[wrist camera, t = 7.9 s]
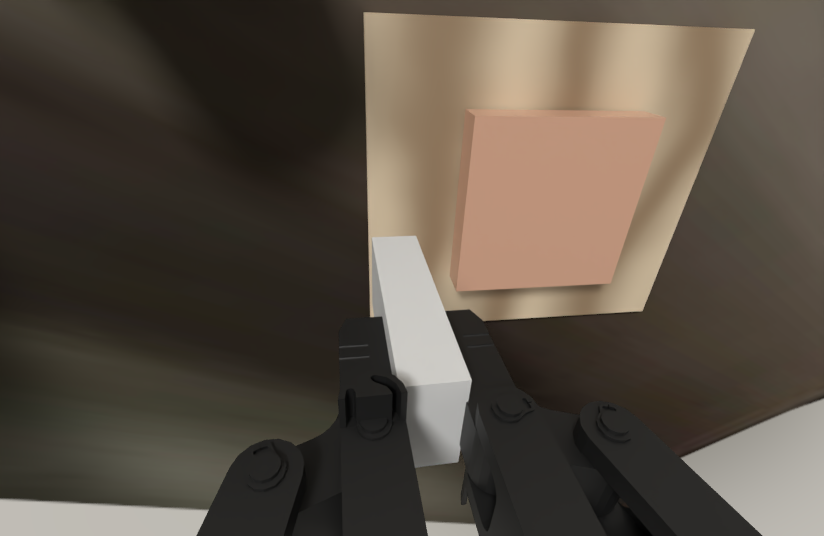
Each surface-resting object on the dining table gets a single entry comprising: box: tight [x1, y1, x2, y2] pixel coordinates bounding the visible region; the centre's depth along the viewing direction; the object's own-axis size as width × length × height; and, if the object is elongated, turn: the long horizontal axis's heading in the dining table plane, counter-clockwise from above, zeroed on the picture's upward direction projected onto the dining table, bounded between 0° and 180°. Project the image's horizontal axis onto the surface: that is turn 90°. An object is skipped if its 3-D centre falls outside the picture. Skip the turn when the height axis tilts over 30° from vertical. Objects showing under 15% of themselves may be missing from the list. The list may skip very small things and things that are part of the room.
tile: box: [450, 109, 666, 291], centre depth 23 cm, size 2×10×10 cm
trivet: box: [363, 12, 755, 321], centre depth 25 cm, size 20×18×1 cm
